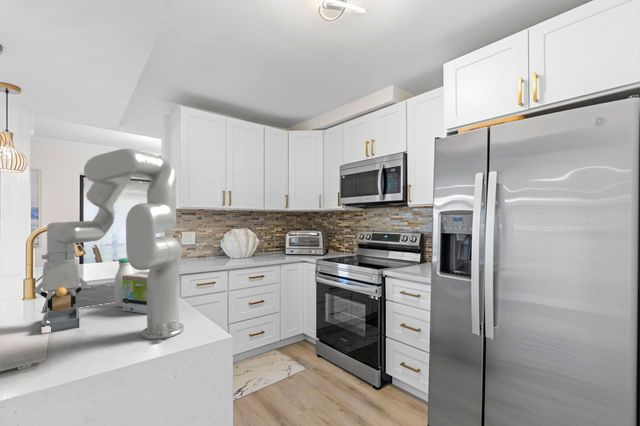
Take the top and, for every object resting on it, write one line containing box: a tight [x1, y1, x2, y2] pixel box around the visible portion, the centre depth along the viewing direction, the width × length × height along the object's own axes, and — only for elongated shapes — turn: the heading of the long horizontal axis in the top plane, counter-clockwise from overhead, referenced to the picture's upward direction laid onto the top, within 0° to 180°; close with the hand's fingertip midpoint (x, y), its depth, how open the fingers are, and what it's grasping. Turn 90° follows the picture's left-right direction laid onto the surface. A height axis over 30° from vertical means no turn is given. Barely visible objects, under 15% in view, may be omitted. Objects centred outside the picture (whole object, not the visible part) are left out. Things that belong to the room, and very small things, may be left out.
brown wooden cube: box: [51, 291, 72, 312], centre depth 112 cm, size 5×5×5 cm
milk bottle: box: [114, 257, 135, 308], centre depth 137 cm, size 8×8×20 cm
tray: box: [40, 306, 80, 334], centre depth 113 cm, size 17×10×3 cm, turn 38°
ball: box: [55, 288, 68, 296], centre depth 109 cm, size 3×3×3 cm
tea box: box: [122, 270, 149, 315], centre depth 130 cm, size 15×10×15 cm, turn 73°
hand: (61, 307), depth 112 cm, fingers closed on brown wooden cube, 5 cm apart
